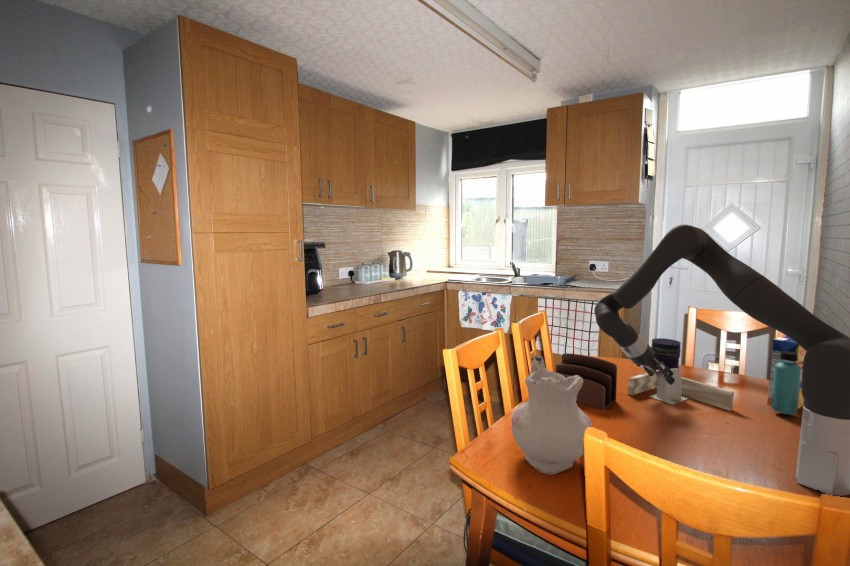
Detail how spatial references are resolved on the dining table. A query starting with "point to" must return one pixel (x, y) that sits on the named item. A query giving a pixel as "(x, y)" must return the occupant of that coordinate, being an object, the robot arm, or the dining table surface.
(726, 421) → the dining table surface
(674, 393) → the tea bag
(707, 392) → the beige l-shaped piece
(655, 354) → the storage jar
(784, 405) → the beverage bottle
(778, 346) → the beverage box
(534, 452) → the ceramic pitcher
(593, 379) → the letter holder
